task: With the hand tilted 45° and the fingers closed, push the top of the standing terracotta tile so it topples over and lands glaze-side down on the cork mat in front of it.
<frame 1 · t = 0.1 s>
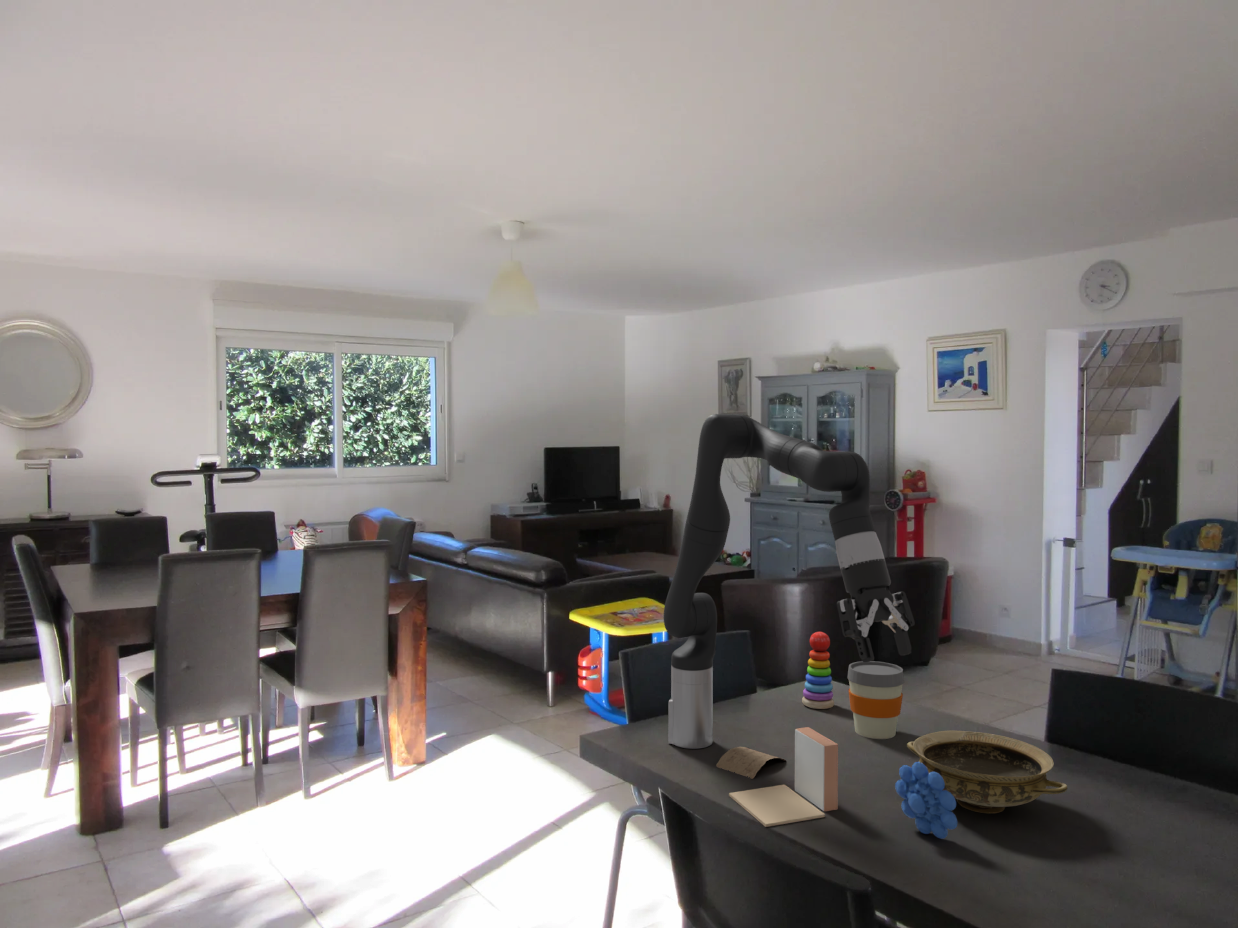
hand: (887, 658, 141), 31 cm above the table, tool tilted 20°, fingers open, 8 cm apart
curved bark piece: (750, 767, 178), on the table
mat: (775, 805, 157), on the table
tile: (815, 799, 160), on the table
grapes: (922, 836, 146), on the table
stacking toy: (818, 705, 217), on the table
reusable coffee cup: (875, 733, 197), on the table
ceramic bowl: (980, 805, 158), on the table
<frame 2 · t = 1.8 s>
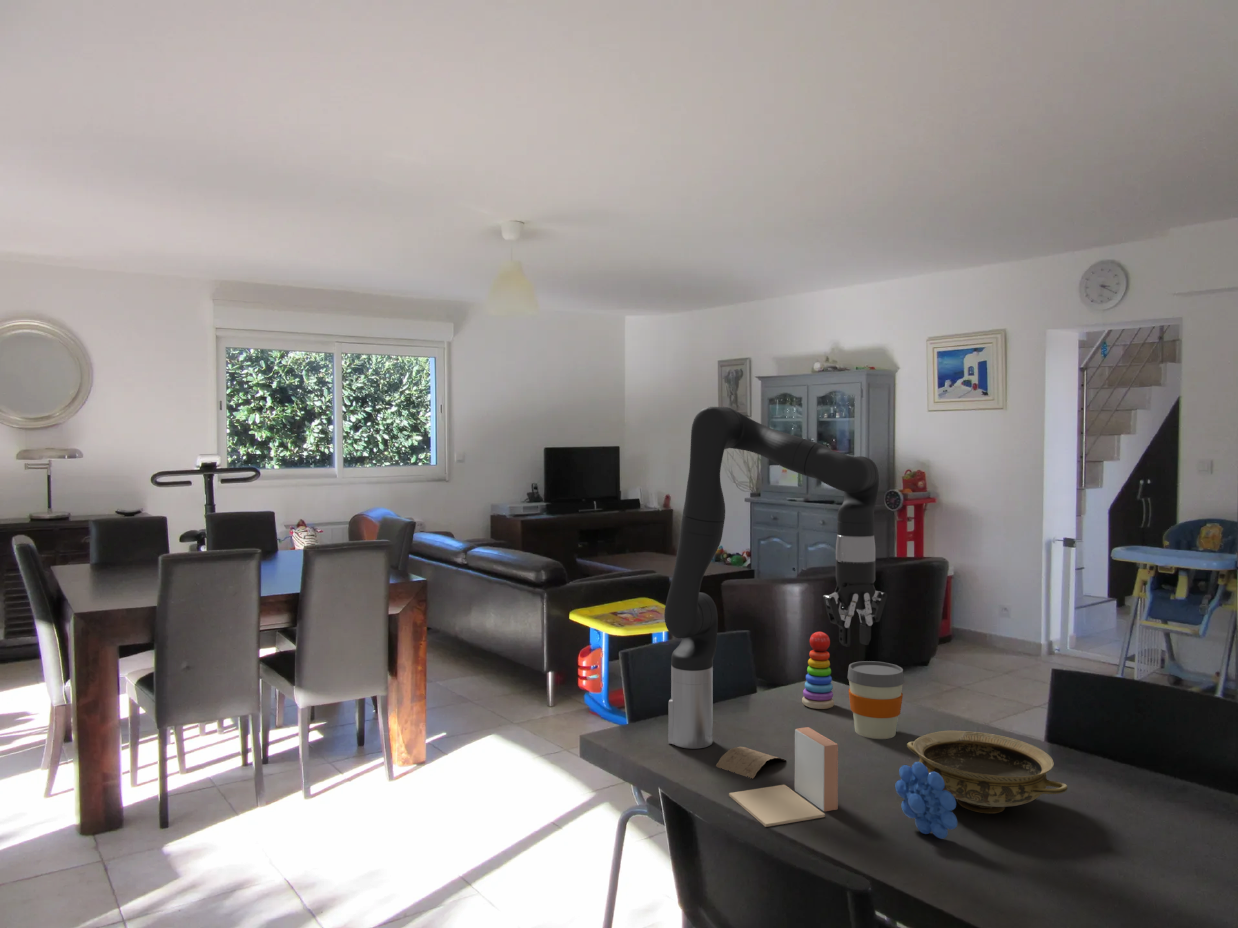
hand: (854, 644, 168), 27 cm above the table, tool pointing down, fingers open, 3 cm apart
nothing on the table moved.
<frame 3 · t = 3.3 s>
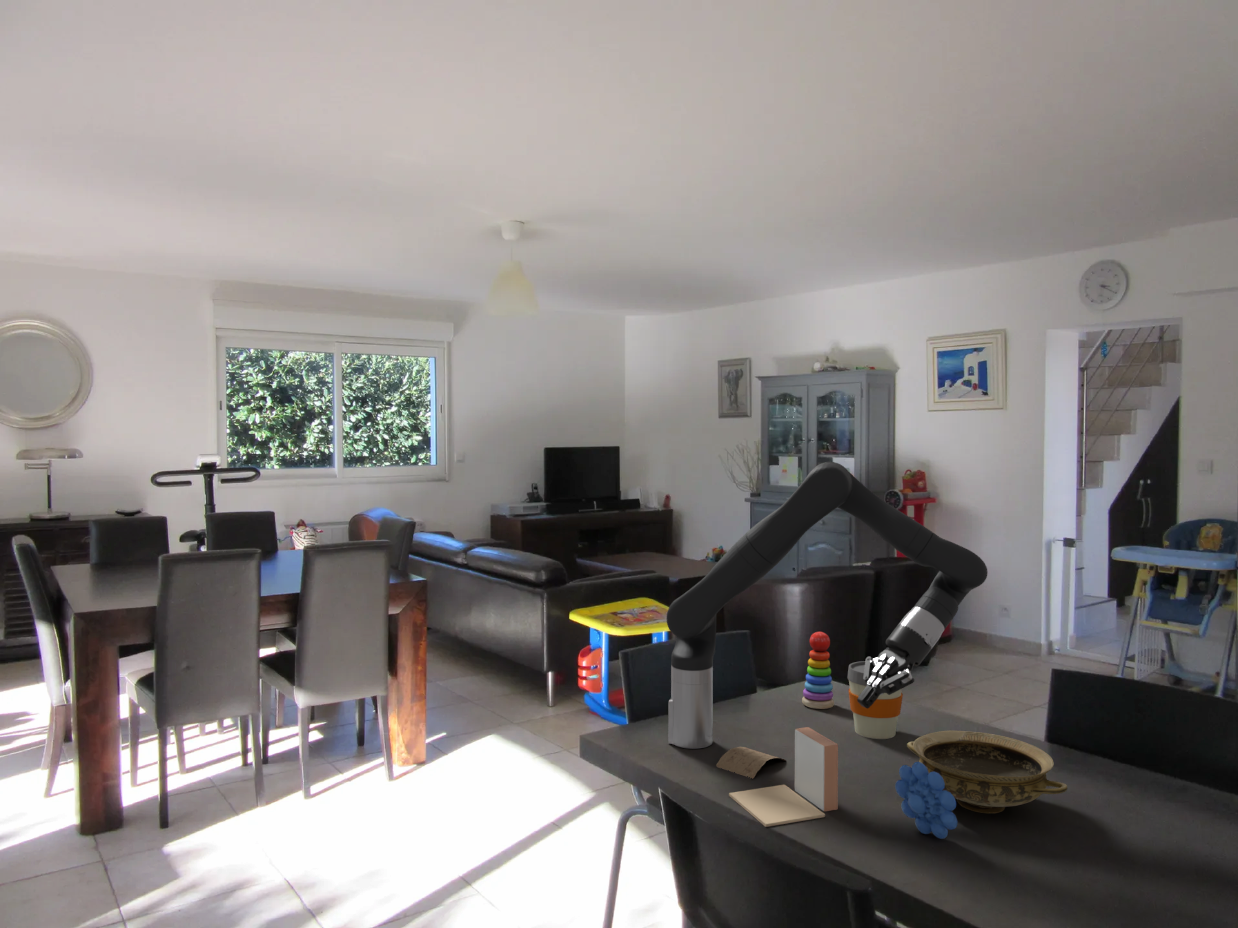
hand: (862, 704, 163), 17 cm above the table, tool tilted 45°, fingers closed
nothing on the table moved.
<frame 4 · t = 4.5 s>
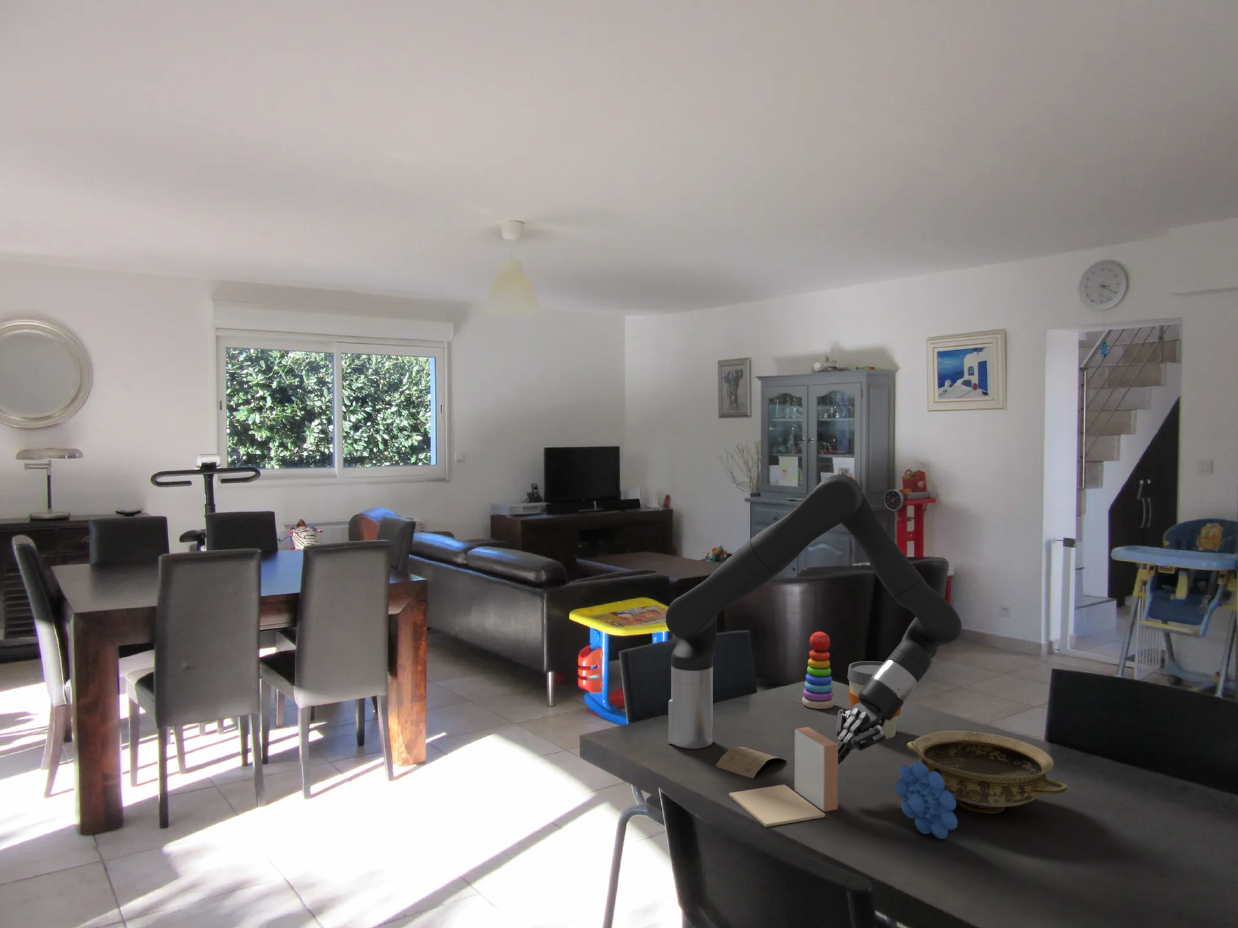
hand: (833, 760, 161), 7 cm above the table, tool tilted 45°, fingers closed
nothing on the table moved.
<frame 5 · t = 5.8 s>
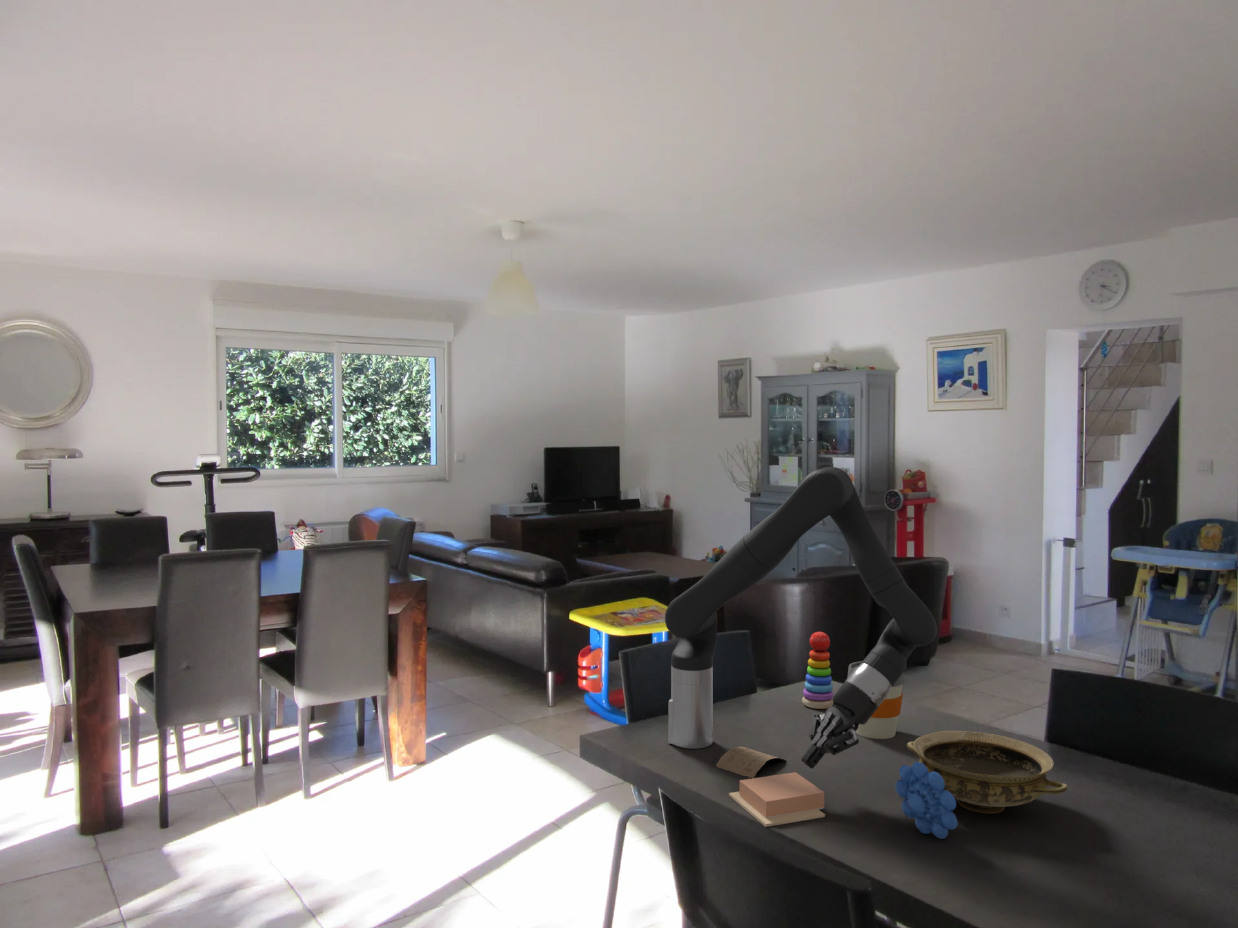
hand: (806, 764, 159), 7 cm above the table, tool tilted 45°, fingers closed
tile: (809, 789, 160), point 2 cm above the table, tilted 90°, touching mat
everything else where it was.
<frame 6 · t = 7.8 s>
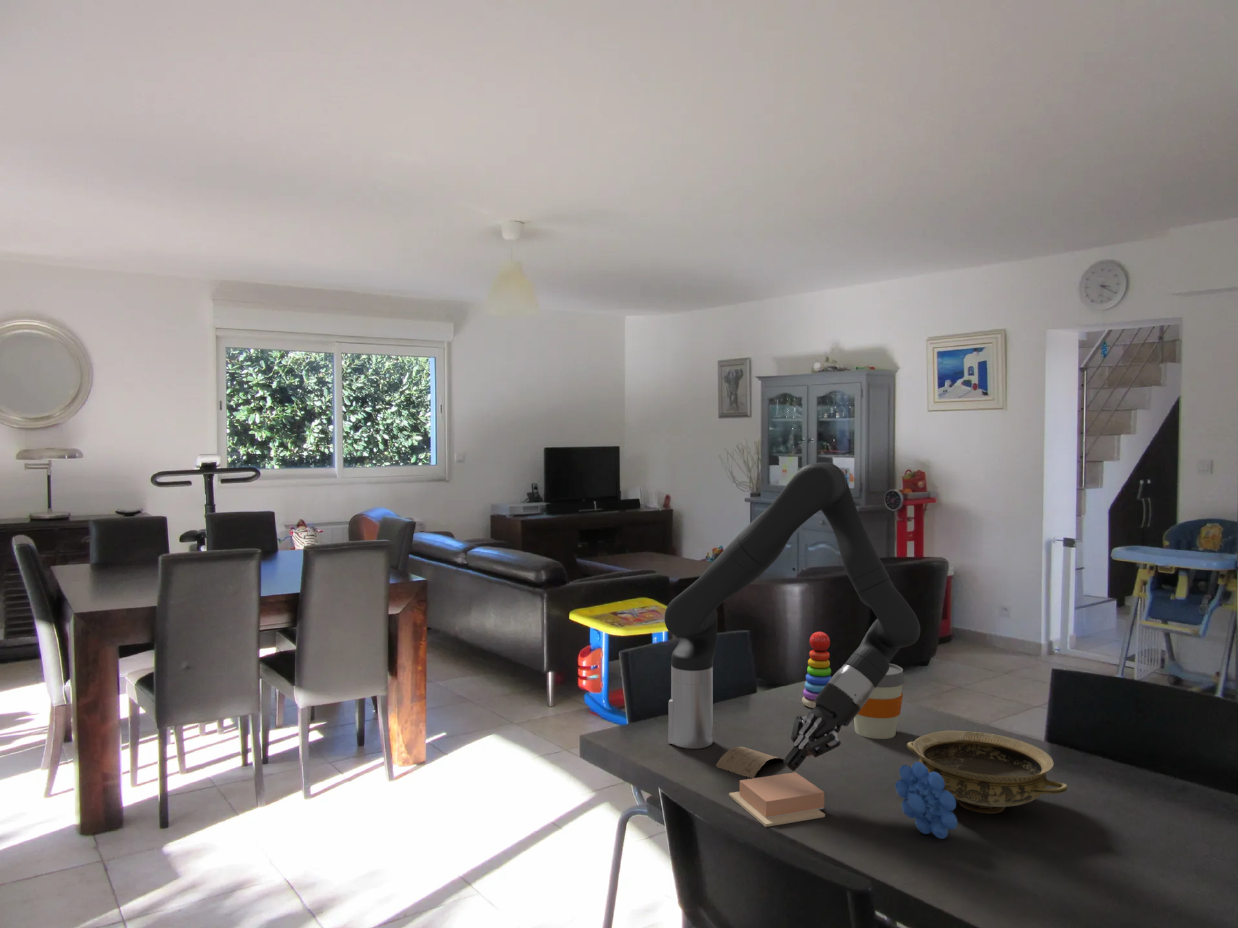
hand: (788, 766, 158), 7 cm above the table, tool tilted 45°, fingers closed
nothing on the table moved.
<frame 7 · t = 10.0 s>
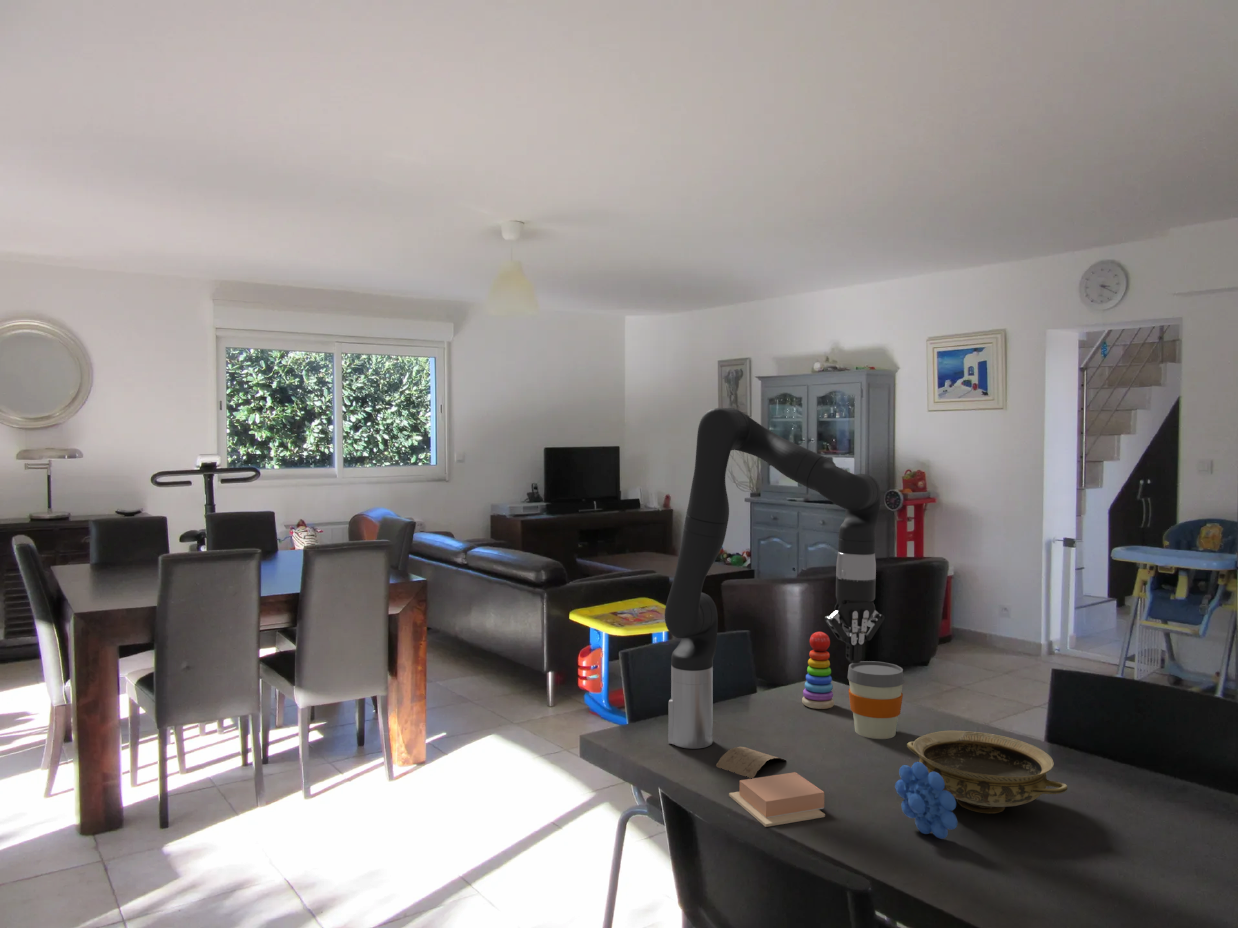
hand: (853, 662, 169), 23 cm above the table, tool pointing down, fingers closed
nothing on the table moved.
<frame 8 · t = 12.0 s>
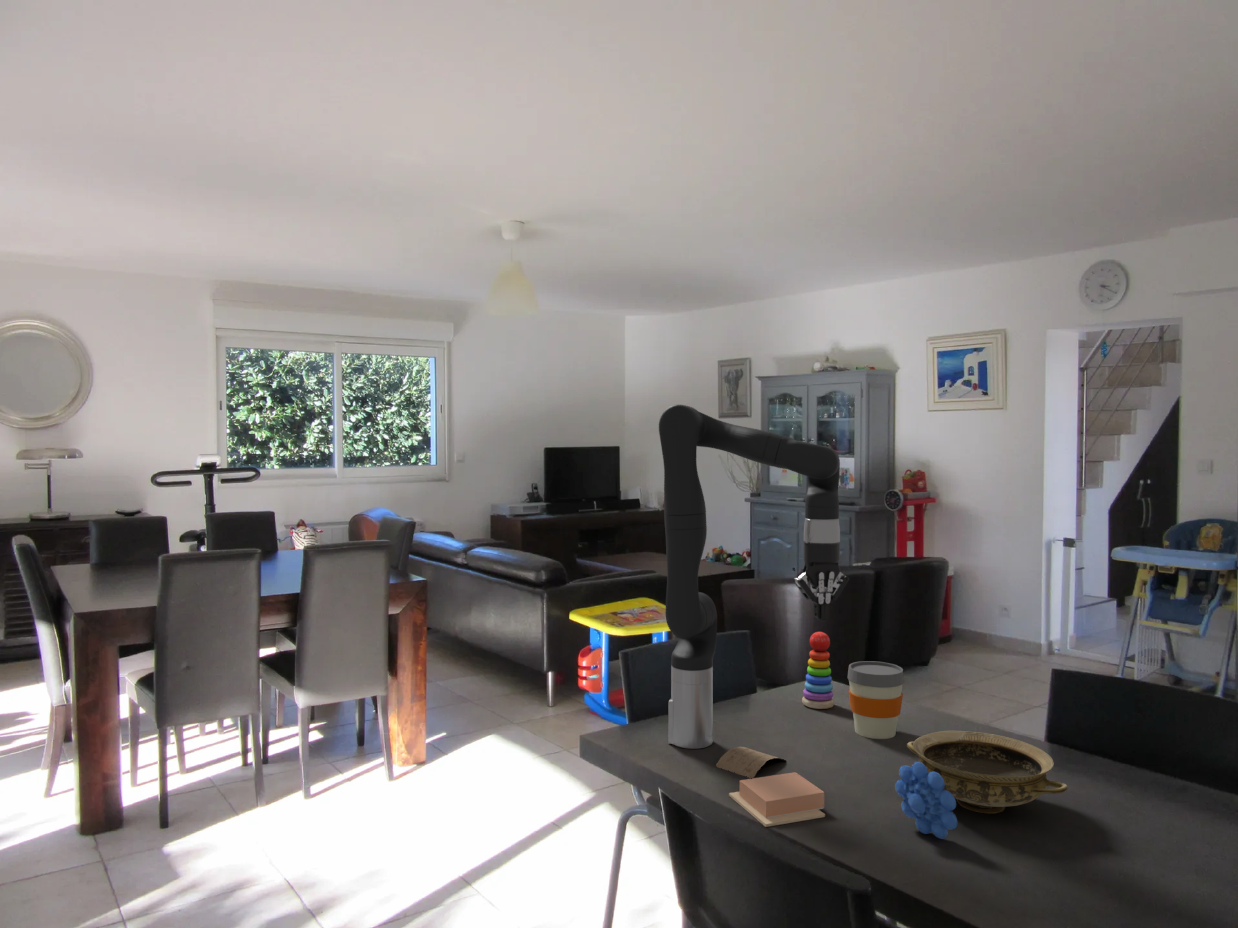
hand: (821, 620, 182), 29 cm above the table, tool pointing down, fingers closed
nothing on the table moved.
at the end: tile tilted 90°; tile touching mat; tile point 2.0 cm above the table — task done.
